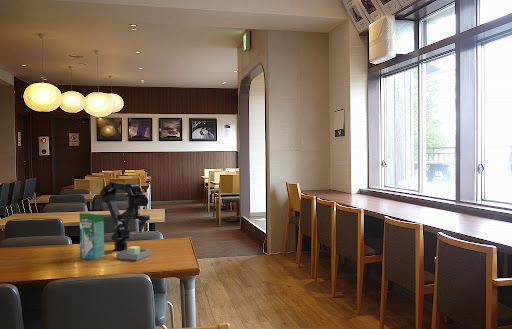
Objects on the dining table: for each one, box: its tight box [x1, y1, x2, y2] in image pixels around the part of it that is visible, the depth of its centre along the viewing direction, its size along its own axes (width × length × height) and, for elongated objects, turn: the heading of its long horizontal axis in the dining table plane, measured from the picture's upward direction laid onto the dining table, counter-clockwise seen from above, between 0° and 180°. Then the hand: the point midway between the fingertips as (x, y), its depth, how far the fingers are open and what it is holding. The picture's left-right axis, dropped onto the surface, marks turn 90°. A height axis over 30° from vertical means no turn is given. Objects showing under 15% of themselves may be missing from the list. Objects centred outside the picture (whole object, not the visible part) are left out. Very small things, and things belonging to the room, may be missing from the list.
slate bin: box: [116, 248, 151, 262], centre depth 257 cm, size 13×13×4 cm
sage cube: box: [127, 245, 141, 254], centre depth 257 cm, size 5×5×5 cm
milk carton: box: [79, 211, 105, 260], centre depth 258 cm, size 9×9×25 cm
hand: (133, 232), depth 267 cm, fingers open, 9 cm apart
